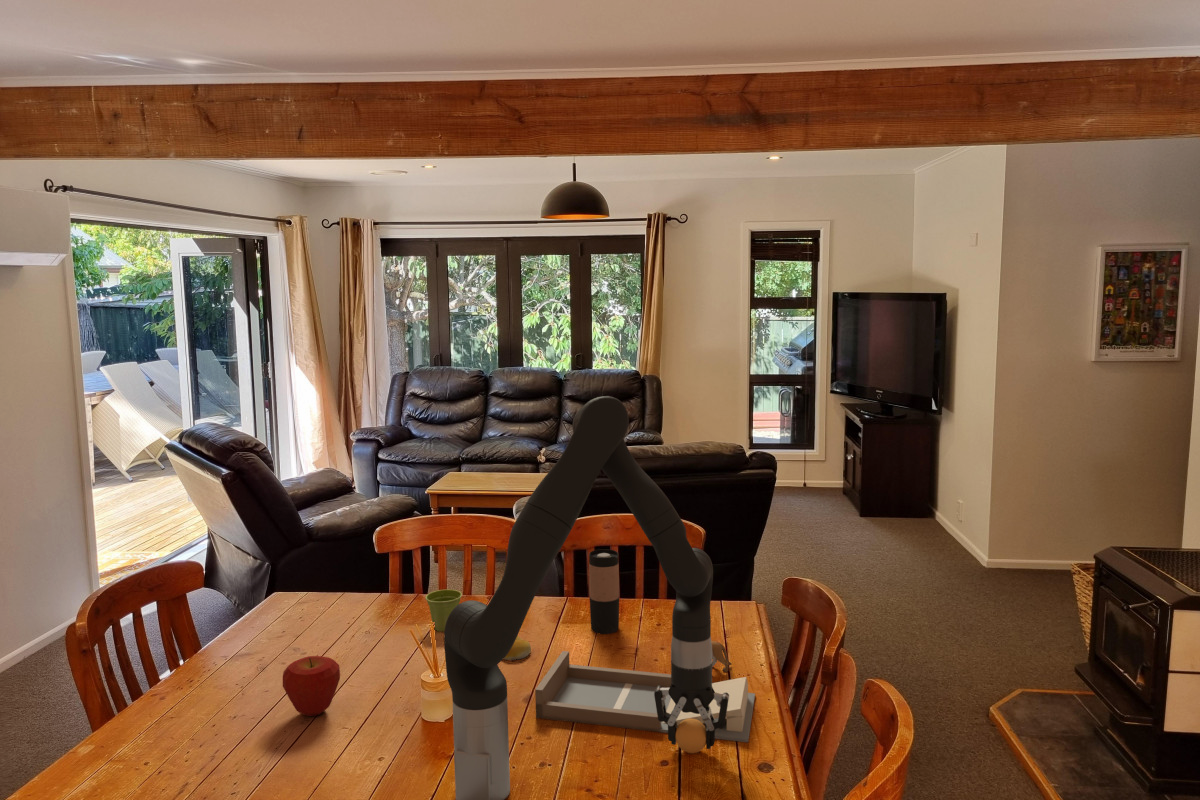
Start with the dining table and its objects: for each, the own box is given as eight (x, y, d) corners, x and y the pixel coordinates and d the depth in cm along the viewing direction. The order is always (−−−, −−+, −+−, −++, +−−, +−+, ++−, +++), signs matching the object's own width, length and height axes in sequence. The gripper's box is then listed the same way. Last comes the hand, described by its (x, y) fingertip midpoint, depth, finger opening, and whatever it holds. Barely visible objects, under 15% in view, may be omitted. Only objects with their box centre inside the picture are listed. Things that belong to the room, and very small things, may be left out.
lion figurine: (677, 681, 182) (677, 642, 181) (667, 671, 187) (667, 633, 186) (736, 670, 187) (736, 632, 186) (725, 661, 192) (725, 624, 191)
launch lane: (754, 699, 175) (755, 669, 174) (748, 746, 156) (748, 712, 156) (563, 679, 185) (562, 650, 184) (536, 721, 167) (535, 689, 166)
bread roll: (510, 664, 192) (509, 648, 192) (489, 652, 199) (488, 637, 198) (538, 654, 198) (538, 638, 197) (516, 643, 204) (516, 627, 204)
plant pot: (419, 632, 211) (418, 600, 210) (437, 619, 220) (436, 587, 219) (452, 636, 209) (451, 603, 208) (469, 622, 218) (468, 590, 217)
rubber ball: (705, 761, 150) (705, 730, 149) (672, 757, 151) (672, 726, 150) (709, 744, 155) (709, 714, 155) (678, 740, 157) (677, 710, 156)
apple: (282, 730, 163) (278, 672, 162) (287, 705, 174) (284, 650, 172) (341, 722, 166) (337, 665, 165) (342, 697, 177) (339, 643, 175)
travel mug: (585, 626, 214) (583, 551, 211) (611, 621, 217) (610, 547, 215) (597, 636, 207) (596, 559, 205) (624, 631, 210) (623, 555, 208)
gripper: (649, 663, 149) (649, 750, 151) (728, 671, 146) (728, 760, 148) (656, 646, 157) (657, 730, 159) (732, 653, 153) (732, 739, 155)
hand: (691, 744), depth 153 cm, fingers closed on rubber ball, 6 cm apart
